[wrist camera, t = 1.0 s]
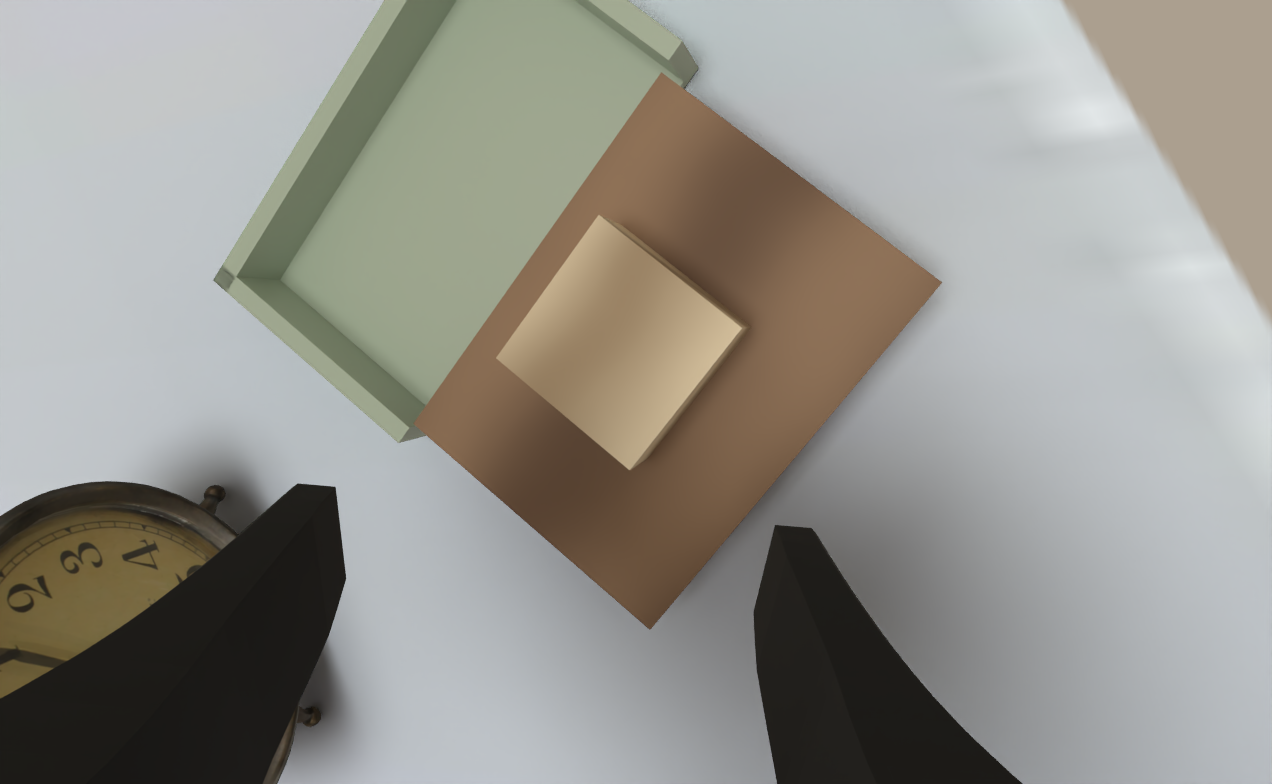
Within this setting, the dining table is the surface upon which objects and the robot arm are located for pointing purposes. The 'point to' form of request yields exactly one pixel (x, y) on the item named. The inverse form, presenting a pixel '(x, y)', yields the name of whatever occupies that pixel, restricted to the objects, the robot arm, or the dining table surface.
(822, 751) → the robot arm
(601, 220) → the maple tile
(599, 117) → the sage tray
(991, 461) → the dining table surface
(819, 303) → the walnut board
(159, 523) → the alarm clock
